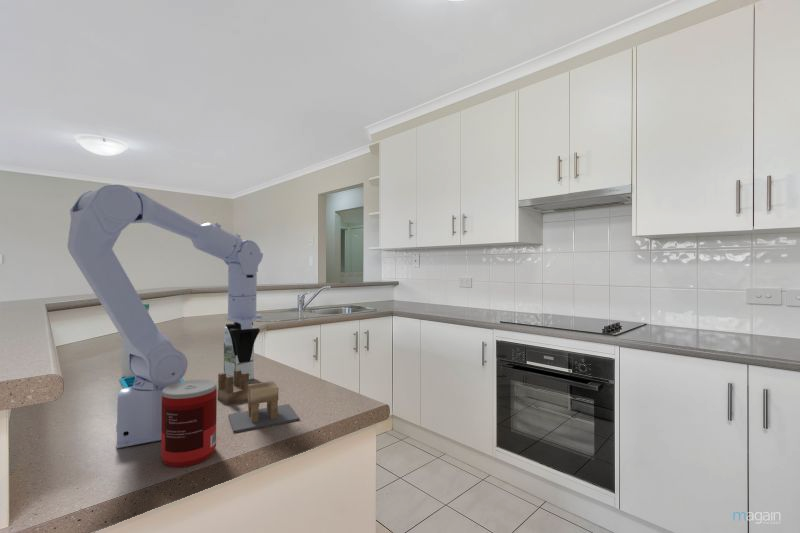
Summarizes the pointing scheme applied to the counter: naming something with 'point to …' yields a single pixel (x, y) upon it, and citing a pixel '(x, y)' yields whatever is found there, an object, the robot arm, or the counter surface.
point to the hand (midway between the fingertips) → (241, 358)
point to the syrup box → (235, 358)
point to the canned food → (188, 422)
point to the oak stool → (262, 399)
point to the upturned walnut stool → (233, 387)
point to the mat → (262, 418)
